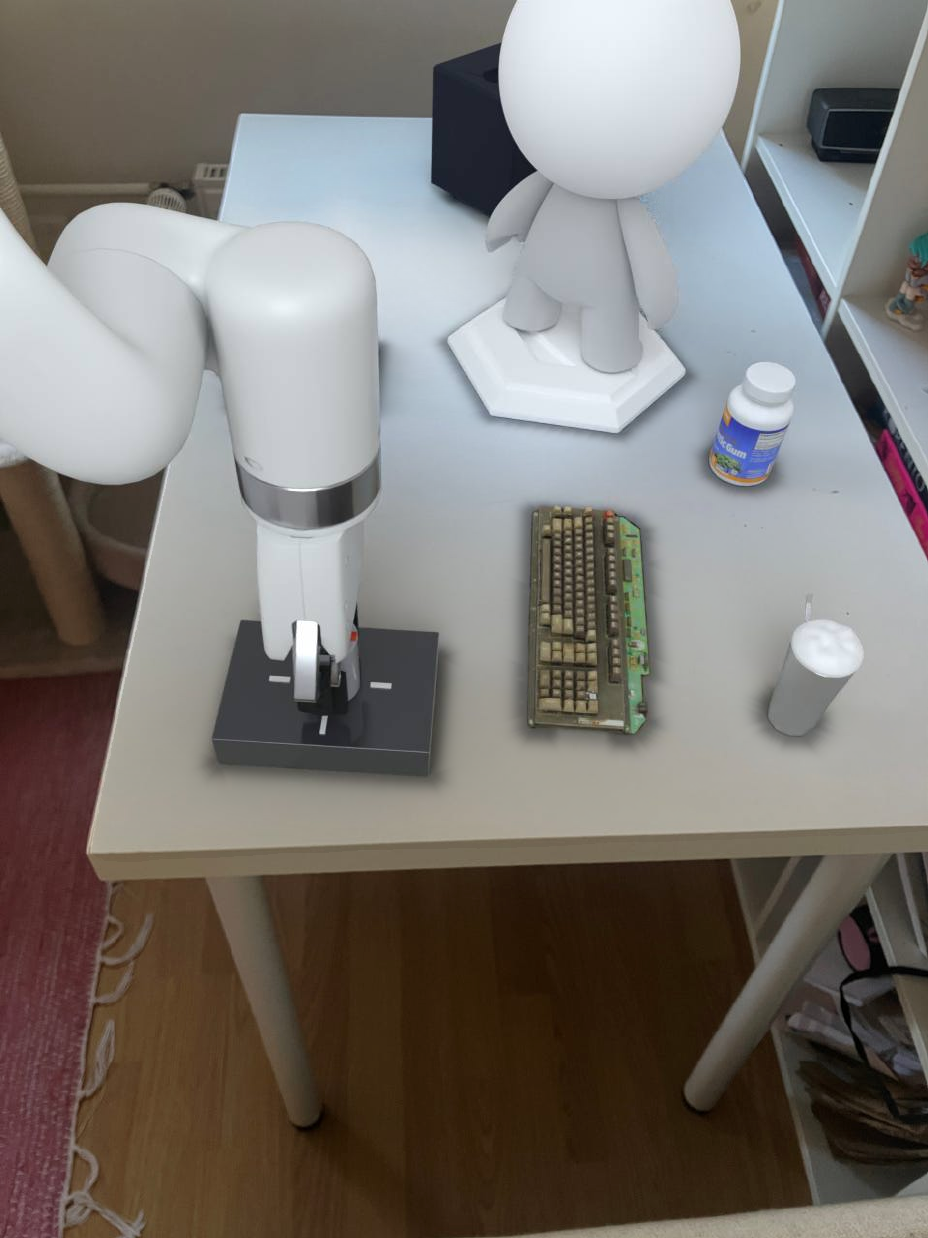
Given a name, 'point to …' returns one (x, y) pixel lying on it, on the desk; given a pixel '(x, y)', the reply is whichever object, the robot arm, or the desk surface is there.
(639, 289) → the white cartoon figure
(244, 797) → the desk surface
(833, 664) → the milkshake
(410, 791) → the desk surface
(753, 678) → the desk surface
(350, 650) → the hob knob
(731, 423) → the pill bottle
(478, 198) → the speaker
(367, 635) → the panel
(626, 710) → the keyboard
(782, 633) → the desk surface
